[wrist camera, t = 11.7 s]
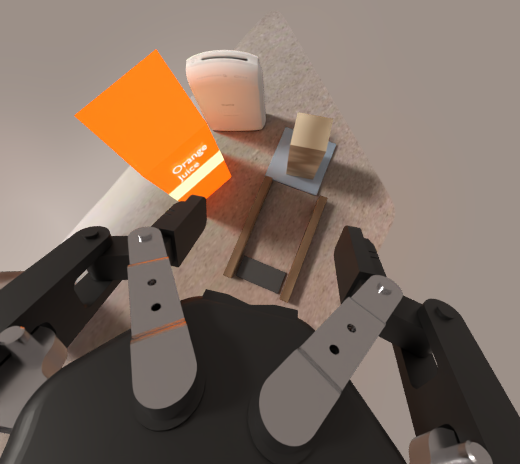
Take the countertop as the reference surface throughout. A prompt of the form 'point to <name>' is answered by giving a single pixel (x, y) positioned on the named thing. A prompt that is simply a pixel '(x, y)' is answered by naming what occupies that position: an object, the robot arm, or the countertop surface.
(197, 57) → the photo printer
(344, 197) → the countertop surface
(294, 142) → the beech block
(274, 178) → the mat
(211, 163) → the orange juice
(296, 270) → the channel
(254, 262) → the mat
